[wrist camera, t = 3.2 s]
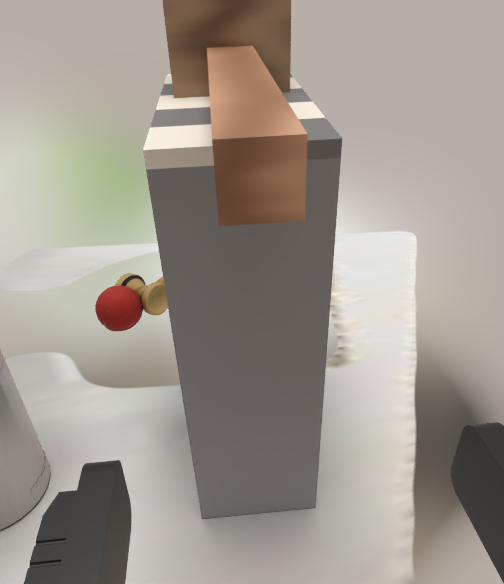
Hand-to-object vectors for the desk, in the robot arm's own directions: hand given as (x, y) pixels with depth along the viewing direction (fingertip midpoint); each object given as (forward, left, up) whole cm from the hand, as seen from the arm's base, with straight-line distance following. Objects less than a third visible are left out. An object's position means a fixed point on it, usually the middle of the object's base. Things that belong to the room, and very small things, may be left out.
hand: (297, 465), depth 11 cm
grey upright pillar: (0, +27, -30) cm, 41 cm away
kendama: (-12, +51, -31) cm, 61 cm away
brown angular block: (0, +22, +2) cm, 22 cm away
